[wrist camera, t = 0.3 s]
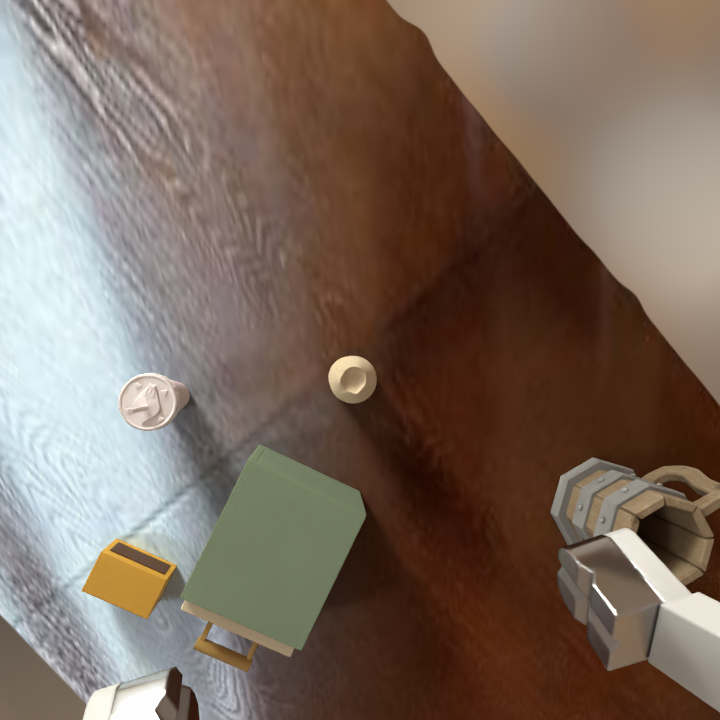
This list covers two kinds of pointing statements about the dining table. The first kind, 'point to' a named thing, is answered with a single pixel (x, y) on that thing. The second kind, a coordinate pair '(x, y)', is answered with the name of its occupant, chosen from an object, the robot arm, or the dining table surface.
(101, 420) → the dining table surface
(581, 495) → the tankard
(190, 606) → the drawer
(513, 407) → the dining table surface
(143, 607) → the matchbox
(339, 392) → the candle
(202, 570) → the cabinet
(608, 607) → the robot arm
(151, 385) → the smoothie
